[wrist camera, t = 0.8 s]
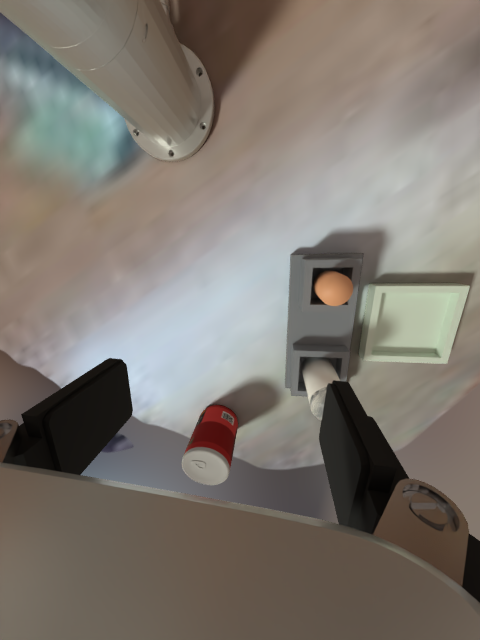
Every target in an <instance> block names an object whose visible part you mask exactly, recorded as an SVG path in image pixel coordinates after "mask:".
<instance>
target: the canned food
mask: <svg viewBox="0 0 480 640" xmlns="http://www.w3.org/2000/svg"><path fill="white" fill-rule="evenodd" d="M237 428H238V421H237V417H236V415H235V414H234V412H233V411H232V410H230V409H229V408H227V407H225V406H221V405H212V406H209V407H207V408H206V409H205V410H204V411H203V412H202V413H201V415H200V418H199V420H198V422H197V425H196V427H195V429H194V432H193V434H192V436H191V439H190V441H189V444H188V446H187V448H186V451H185V453H184V456H183V459H182V468H183V470H184V472H185V473H186V475H187V476H188V477H190V478H191V479H192V480H194V481H196V482H198V483H201V484H205V485H217V484H220V483H222V482H224V481H225V480H226V479H227V477H228V475H229V471H230V466H231V461H232V456H233V450H234V445H235V439H236V433H237Z"/></svg>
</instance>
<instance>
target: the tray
mask: <svg viewBox="0 0 480 640" xmlns="http://www.w3.org/2000/svg"><path fill="white" fill-rule="evenodd" d="M469 288H470V286H468V285H464V284H459V283H377V284H369V288H368V295H367V301H366V308H365V314H364V321H363V327H362V333H361V340H360V346H359V353H358V354H359V356H360V357H361V358H362V359H363V361H385V362H411V363H437V364H447V362H448V358H449V355H450V352H451V348H452V345H453V342H454V338H455V335H456V332H457V328H458V325H459V321H460V318H461V315H462V311H463V308H464V305H465V301H466V298H467V295H468V291H469Z"/></svg>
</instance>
